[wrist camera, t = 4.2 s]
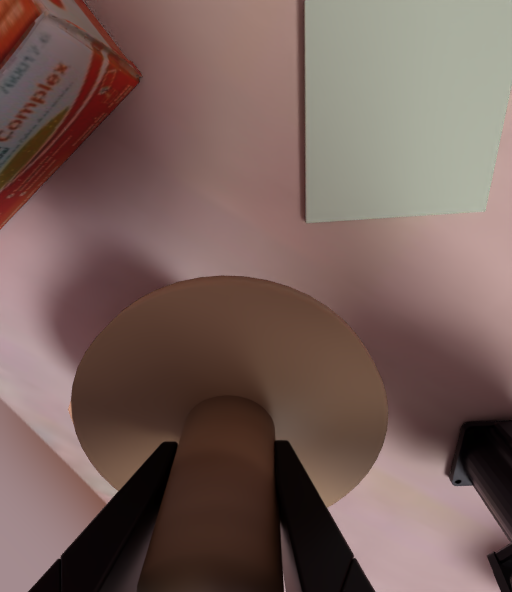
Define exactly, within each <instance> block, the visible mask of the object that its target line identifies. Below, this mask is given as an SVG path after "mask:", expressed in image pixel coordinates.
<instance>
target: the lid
mask: <svg viewBox="0 0 512 592" xmlns="http://www.w3.org/2000/svg"><path fill="white" fill-rule="evenodd" d="M71 409H72V419H73V423H74V427H75V431H76V435H77V437H78V439H79V442H80V444H81V447H82V449H83V450H84V452H85V454H86V455H87V457H88V459H89V460H90V462H91V463H92V464H93V466H94V467H95V468H96V470H97V471H98V472H99V473H100V475H101V476H102V477H103V478H104V479H105V480H106V481H108V482H109V483H110V484H111V485H112V486H113V487H114V488H115V489H116V490H118V491H119V490H120V489H121V488H122V487H123V486H124V485H125V483H126V482H127V481H128V480H129V479H130V478H131V477H132V476H133V474H134V473H135V472H136V471H137V470H138V469H139V468H140V467H141V465H142V464H143V463H144V462H145V461H146V460H147V459H148V458H149V457H150V455H151V454H152V453H153V452H154V451H155V450H156V449H157V448H158V446H159V445H160V444H161V443H162V442H165V441H175V442H177V443H178V447H177V451H176V454H175V458H174V461H173V465H172V468H171V471H170V475H169V478H168V482H167V485H166V488H165V492H164V495H163V499H162V502H161V506H160V509H159V512H158V516H157V519H156V523H155V526H154V530H153V533H152V536H151V540H150V543H149V547H148V550H147V553H146V557H145V560H144V564H143V567H142V571H141V574H140V577H139V581H138V584H137V592H284V585H283V566H282V548H281V530H280V513H279V503H278V495H277V485H276V468H275V448H274V442H275V441H276V440H288V441H289V442H290V444H291V446H292V447H293V449H294V451H295V453H296V454H297V456H298V458H299V460H300V461H301V463H302V465H303V467H304V468H305V470H306V472H307V474H308V475H309V477H310V479H311V481H312V482H313V484H314V486H315V488H316V490H317V491H318V493H319V495H320V497H321V498H322V500H323V502H324V504H325V505H326V507H329V506H331V505H333V504H334V503H336V502H337V501H338V500H340V499H341V498H343V497H344V496H346V495H347V494H348V493H349V492H350V491H351V490H352V489H353V488H355V487H356V486H357V485H358V484H359V483H360V481H361V480H362V479H363V478H364V477H365V476H366V474H367V473H368V472H369V470H370V469H371V467H372V466H373V464H374V463H375V461H376V460H377V457H378V455H379V453H380V451H381V448H382V446H383V443H384V439H385V435H386V431H387V423H388V405H387V396H386V392H385V388H384V385H383V381H382V379H381V376H380V374H379V372H378V370H377V368H376V366H375V364H374V362H373V360H372V358H371V357H370V355H369V353H368V351H367V349H366V348H365V346H364V345H363V343H362V342H361V340H360V339H359V337H358V336H357V334H356V333H355V332H354V331H353V330H352V329H351V328H350V327H349V325H348V324H347V323H346V322H345V321H344V320H343V319H342V318H341V317H339V316H338V315H337V314H336V313H335V312H333V311H332V310H331V309H330V308H328V307H327V306H325V305H324V304H322V303H321V302H319V301H317V300H316V299H314V298H312V297H311V296H309V295H307V294H304V293H302V292H300V291H298V290H295V289H293V288H291V287H288V286H285V285H282V284H278V283H275V282H272V281H268V280H263V279H257V278H251V277H244V276H211V277H199V278H195V279H190V280H185V281H180V282H176V283H174V284H171V285H168V286H165V287H162V288H160V289H157V290H155V291H153V292H151V293H149V294H147V295H145V296H143V297H141V298H140V299H138V300H136V301H135V302H134V303H132V304H131V305H130V306H128V307H127V308H125V309H124V310H123V311H122V312H121V313H120V314H119V315H118V316H117V317H116V318H115V319H114V320H112V321H111V322H110V323H109V325H108V326H107V327H106V328H105V329H104V330H103V331H102V332H101V333H100V334H99V335H98V336H97V337H96V338H95V340H94V341H93V343H92V344H91V345H90V347H89V348H88V349H87V351H86V352H85V354H84V356H83V358H82V360H81V362H80V364H79V366H78V368H77V371H76V375H75V378H74V382H73V386H72V396H71Z"/></svg>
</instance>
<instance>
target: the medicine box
mask: <svg viewBox="0 0 512 592" xmlns="http://www.w3.org/2000/svg"><path fill="white" fill-rule="evenodd" d="M139 77H143V76H142V74H141V73H140V71H139V70H138V69H137V67H136V66H135V65H134V64H133V62H131V61H129V60H128V59H127V58H126V57H125V56H124V54H123V53H122V52H121V50H120V49H119V48H118V47H117V45H116V44H115V43H114V41H113V40H112V39H111V37H110V36H109V35H108V34H107V32H106V31H105V30H104V28H103V27H102V26H101V24H100V23H99V22H98V20H97V19H96V18H95V16H94V15H93V14H92V13H91V11H90V10H89V9H88V7H87V6H86V5H85V3H84V2H83V1H82V0H0V229H1V228H2V227H3V226H4V225H5V224H6V223H7V222H8V221H9V220H10V219H11V217H12V216H13V215H14V214H15V213H16V212H17V211H18V210H19V209H20V208H21V207H22V206H23V205H24V204H25V203H26V202H27V201H28V200H29V199H30V197H31V196H32V195H33V194H34V193H35V192H36V191H37V190H38V189H39V188H40V187H41V186H42V184H43V183H44V182H45V181H46V180H47V179H48V178H49V177H50V176H51V175H52V174H53V173H54V172H55V171H56V170H57V169H58V168H59V167H60V166H61V165H62V164H63V163H64V162H65V161H66V160H67V159H68V158H69V156H70V155H71V154H72V153H73V152H74V151H75V150H76V149H77V148H78V147H79V146H80V145H81V144H82V143H83V142H84V141H85V139H86V138H87V137H88V136H89V135H90V134H91V133H92V132H93V131H94V130H95V129H96V128H97V127H98V126H99V125H100V123H101V122H102V121H103V120H104V119H105V118H106V117H107V116H108V115H109V114H110V113H111V112H112V111H113V110H114V109H115V108H116V107H117V106H118V105H119V104H120V102H121V101H122V100H123V99H124V98H125V97H126V96H127V95H128V94H129V93H130V92H131V91H132V90H133V89H134V88H135V87H136V85H137V84H138V83H139V82H140V81H139Z"/></svg>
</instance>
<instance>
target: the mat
mask: <svg viewBox="0 0 512 592" xmlns="http://www.w3.org/2000/svg"><path fill="white" fill-rule="evenodd" d="M304 80H305V222H306V223H318V222H333V221H348V220H363V219H378V218H394V217H409V216H424V215H439V214H455V213H470V212H485V210H486V205H487V201H488V196H489V191H490V186H491V181H492V177H493V172H494V167H495V162H496V157H497V153H498V148H499V143H500V138H501V133H502V129H503V124H504V119H505V114H506V110H507V105H508V100H509V95H510V90H511V86H512V0H305V2H304Z"/></svg>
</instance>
